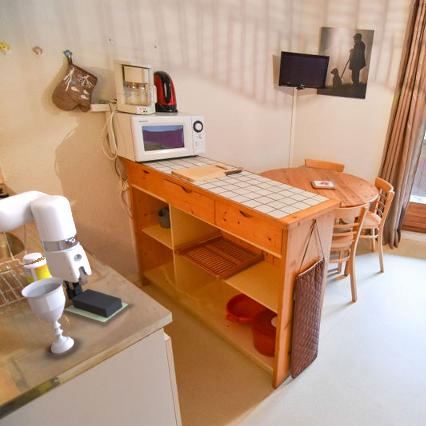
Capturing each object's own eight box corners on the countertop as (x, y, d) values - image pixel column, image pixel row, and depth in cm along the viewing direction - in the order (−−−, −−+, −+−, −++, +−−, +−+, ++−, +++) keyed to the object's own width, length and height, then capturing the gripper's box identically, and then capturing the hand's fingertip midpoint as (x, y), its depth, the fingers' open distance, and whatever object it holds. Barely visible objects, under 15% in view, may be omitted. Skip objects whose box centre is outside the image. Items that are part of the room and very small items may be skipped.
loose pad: (73, 307, 89) (71, 298, 88) (90, 297, 94) (88, 288, 93) (90, 312, 88) (88, 303, 87) (106, 301, 92) (104, 293, 91)
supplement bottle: (56, 278, 102) (47, 250, 98) (48, 288, 97) (39, 259, 93) (34, 280, 100) (25, 252, 96) (26, 290, 95) (15, 261, 91)
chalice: (61, 362, 73) (40, 299, 66) (36, 356, 74) (12, 294, 67) (88, 339, 80) (71, 279, 73) (64, 334, 81) (45, 275, 74)
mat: (64, 311, 88) (64, 309, 88) (91, 294, 96) (90, 293, 95) (104, 323, 85) (104, 322, 85) (128, 305, 92) (128, 304, 92)
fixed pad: (90, 312, 88) (87, 304, 87) (106, 301, 92) (104, 293, 91) (107, 318, 86) (105, 309, 85) (122, 306, 91) (120, 298, 90)
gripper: (95, 240, 86) (108, 296, 93) (54, 230, 90) (69, 284, 97) (68, 253, 79) (84, 312, 86) (24, 242, 83) (43, 299, 90)
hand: (76, 297), depth 91 cm, fingers closed
